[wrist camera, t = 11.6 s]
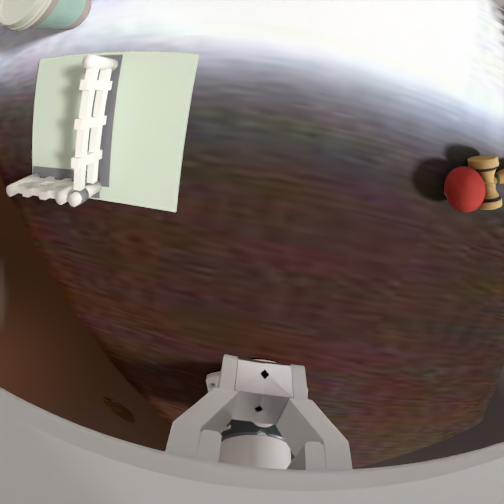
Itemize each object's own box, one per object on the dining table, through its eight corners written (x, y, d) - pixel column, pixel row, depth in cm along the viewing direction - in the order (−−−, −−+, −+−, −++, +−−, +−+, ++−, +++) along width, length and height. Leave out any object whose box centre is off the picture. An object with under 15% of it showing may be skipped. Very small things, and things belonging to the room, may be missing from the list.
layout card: (176, 211, 39) (175, 212, 39) (34, 189, 38) (32, 190, 38) (199, 54, 30) (198, 54, 30) (41, 59, 29) (39, 59, 29)
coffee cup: (108, -17, 25) (60, -44, 14) (88, 39, 29) (31, 27, 18) (62, -13, 24) (10, -31, 14) (44, 38, 28) (-13, 32, 17)
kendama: (512, 135, 32) (434, 157, 33) (541, 150, 27) (466, 176, 28) (510, 179, 36) (435, 209, 37) (536, 196, 31) (463, 232, 32)
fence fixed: (90, 178, 37) (65, 192, 31) (90, 190, 38) (65, 205, 32) (33, 172, 37) (5, 184, 31) (33, 182, 37) (6, 196, 32)
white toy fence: (101, 193, 38) (78, 208, 32) (90, 191, 38) (67, 206, 32) (120, 59, 30) (96, 54, 24) (107, 59, 30) (82, 54, 24)
